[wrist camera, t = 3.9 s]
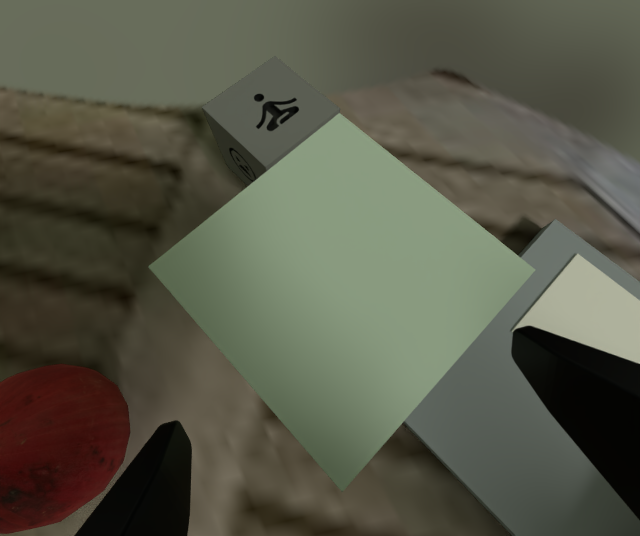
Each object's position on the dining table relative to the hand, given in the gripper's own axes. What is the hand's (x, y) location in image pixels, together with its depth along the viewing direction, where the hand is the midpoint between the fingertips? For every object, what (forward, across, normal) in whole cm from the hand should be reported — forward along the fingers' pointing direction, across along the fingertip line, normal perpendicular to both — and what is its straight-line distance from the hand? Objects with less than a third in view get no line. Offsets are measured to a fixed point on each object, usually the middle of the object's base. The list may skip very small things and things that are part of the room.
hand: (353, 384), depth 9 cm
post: (+8, 0, +5) cm, 10 cm away
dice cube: (+17, 0, -3) cm, 17 cm away
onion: (+7, +12, +6) cm, 15 cm away
